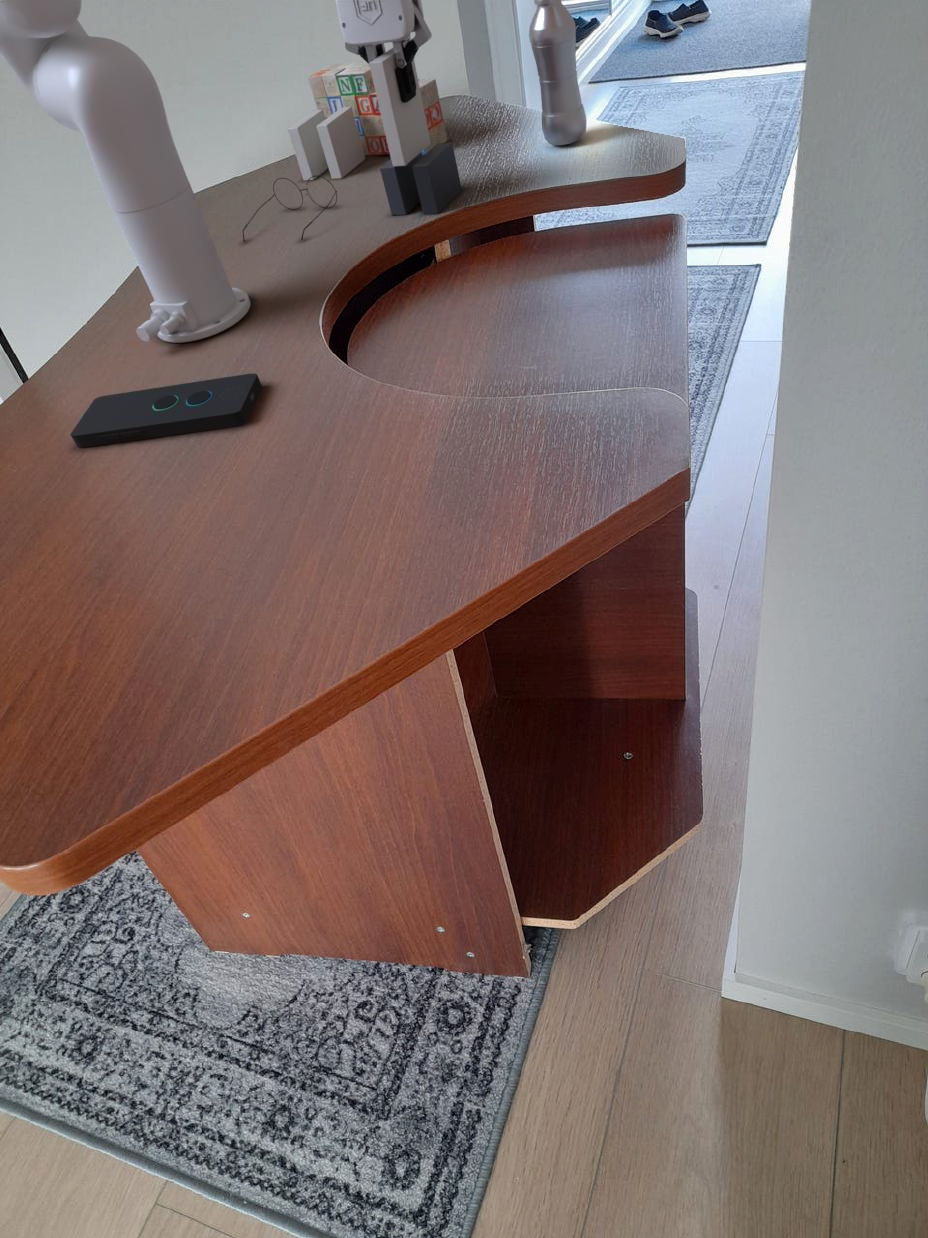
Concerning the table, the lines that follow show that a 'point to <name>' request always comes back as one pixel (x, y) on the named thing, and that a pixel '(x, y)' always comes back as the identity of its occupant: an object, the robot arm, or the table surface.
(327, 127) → the white books
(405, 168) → the grey books
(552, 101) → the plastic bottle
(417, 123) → the white book
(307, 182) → the eyeglasses
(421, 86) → the stack of blocks
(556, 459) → the table surface
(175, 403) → the smart home device
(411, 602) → the table surface
